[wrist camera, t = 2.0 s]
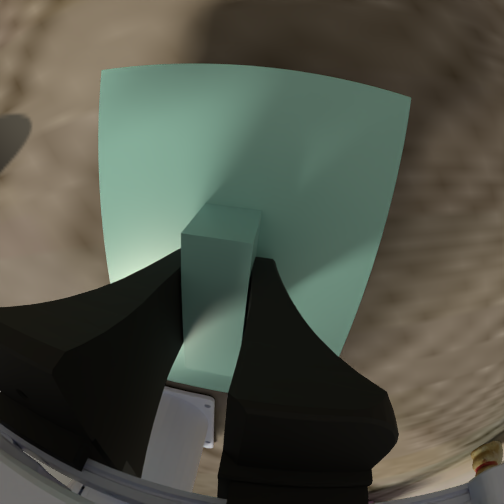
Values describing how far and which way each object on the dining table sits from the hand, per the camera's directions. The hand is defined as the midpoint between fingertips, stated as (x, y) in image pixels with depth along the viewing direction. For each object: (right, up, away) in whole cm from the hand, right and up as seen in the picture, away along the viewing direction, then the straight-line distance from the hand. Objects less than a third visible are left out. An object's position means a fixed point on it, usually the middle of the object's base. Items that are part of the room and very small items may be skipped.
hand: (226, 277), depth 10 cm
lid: (0, +1, +1) cm, 2 cm away
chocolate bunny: (+35, -28, +15) cm, 47 cm away
